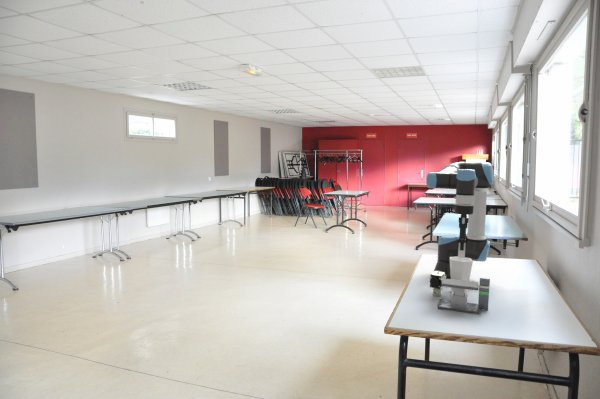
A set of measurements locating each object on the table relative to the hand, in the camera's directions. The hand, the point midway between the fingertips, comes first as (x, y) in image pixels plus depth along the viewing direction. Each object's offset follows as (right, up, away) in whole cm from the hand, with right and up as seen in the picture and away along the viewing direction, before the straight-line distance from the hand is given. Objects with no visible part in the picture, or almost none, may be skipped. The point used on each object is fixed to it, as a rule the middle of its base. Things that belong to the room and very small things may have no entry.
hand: (461, 255), depth 187 cm
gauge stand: (+1, -24, +2) cm, 24 cm away
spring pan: (+2, -19, +1) cm, 19 cm away
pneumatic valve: (-4, -22, +19) cm, 29 cm away
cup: (+8, -22, +24) cm, 33 cm away
